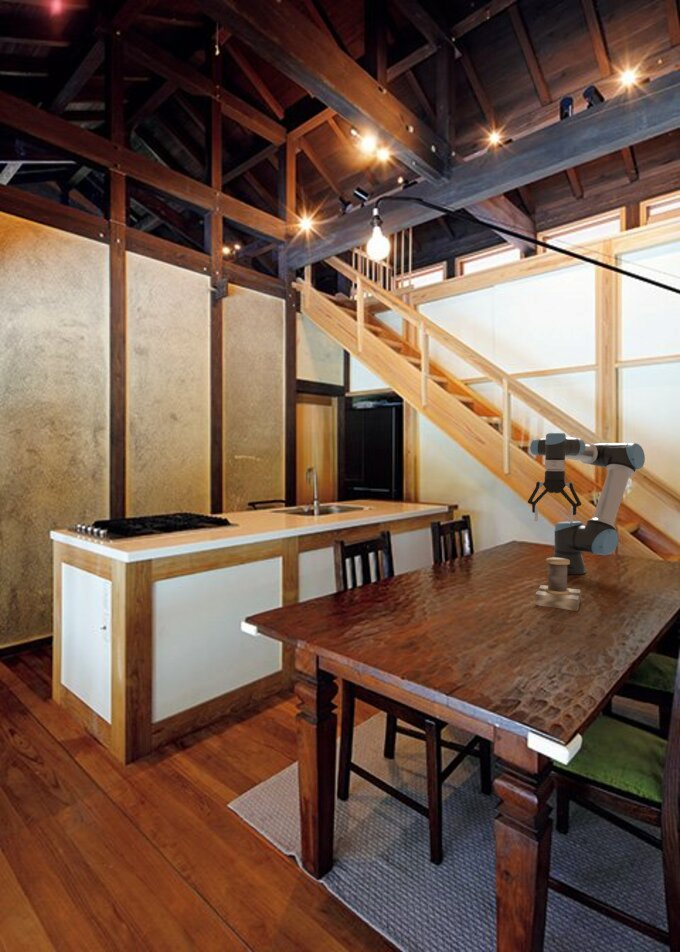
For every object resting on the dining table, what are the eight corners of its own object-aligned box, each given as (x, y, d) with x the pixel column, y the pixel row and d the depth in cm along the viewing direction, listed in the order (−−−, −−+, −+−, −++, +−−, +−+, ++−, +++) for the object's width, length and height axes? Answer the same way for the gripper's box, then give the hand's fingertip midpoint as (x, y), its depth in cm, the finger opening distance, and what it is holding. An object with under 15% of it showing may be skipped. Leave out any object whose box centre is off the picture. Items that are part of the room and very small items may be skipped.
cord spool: (540, 590, 186) (541, 558, 186) (555, 587, 190) (556, 556, 189) (558, 596, 179) (559, 563, 178) (574, 593, 183) (574, 560, 182)
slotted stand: (535, 604, 182) (535, 594, 182) (540, 595, 194) (540, 584, 194) (577, 610, 175) (577, 599, 175) (580, 600, 187) (580, 589, 187)
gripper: (521, 470, 208) (520, 520, 209) (588, 471, 195) (586, 525, 197) (524, 469, 214) (523, 518, 215) (589, 470, 202) (587, 522, 203)
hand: (553, 521), depth 206 cm, fingers open, 13 cm apart
